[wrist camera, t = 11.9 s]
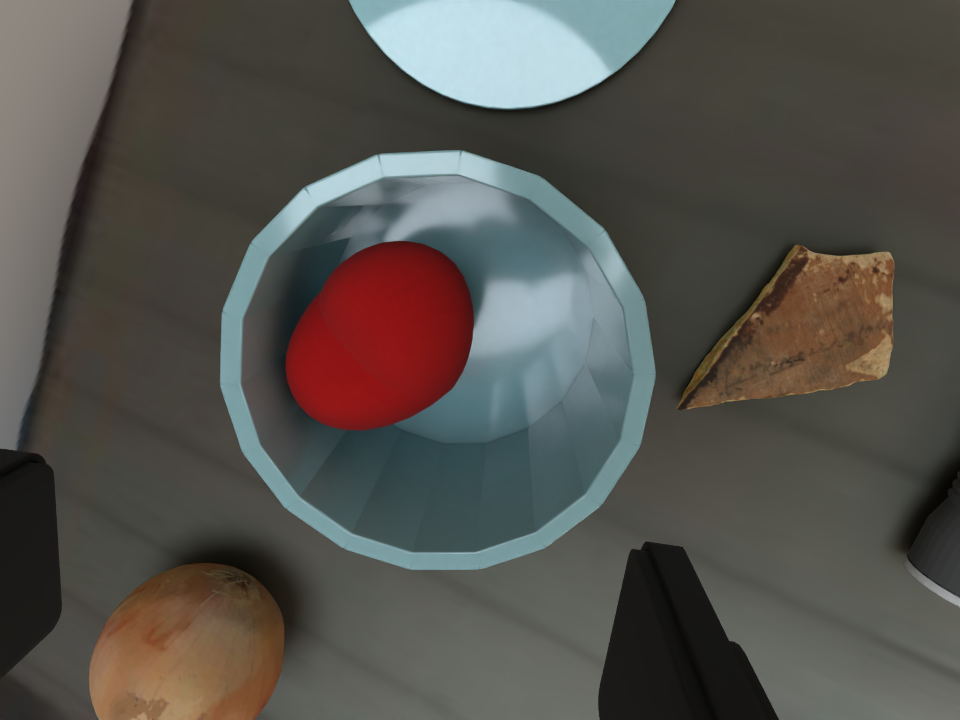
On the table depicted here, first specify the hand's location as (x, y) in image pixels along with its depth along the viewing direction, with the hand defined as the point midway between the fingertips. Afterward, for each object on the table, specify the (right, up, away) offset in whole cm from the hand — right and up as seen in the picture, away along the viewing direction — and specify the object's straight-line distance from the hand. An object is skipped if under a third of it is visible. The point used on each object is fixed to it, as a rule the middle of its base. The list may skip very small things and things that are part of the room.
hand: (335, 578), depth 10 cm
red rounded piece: (+1, +6, +22) cm, 23 cm away
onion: (-13, -12, +29) cm, 34 cm away
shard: (+19, +4, +23) cm, 30 cm away
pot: (+1, +6, +23) cm, 24 cm away
